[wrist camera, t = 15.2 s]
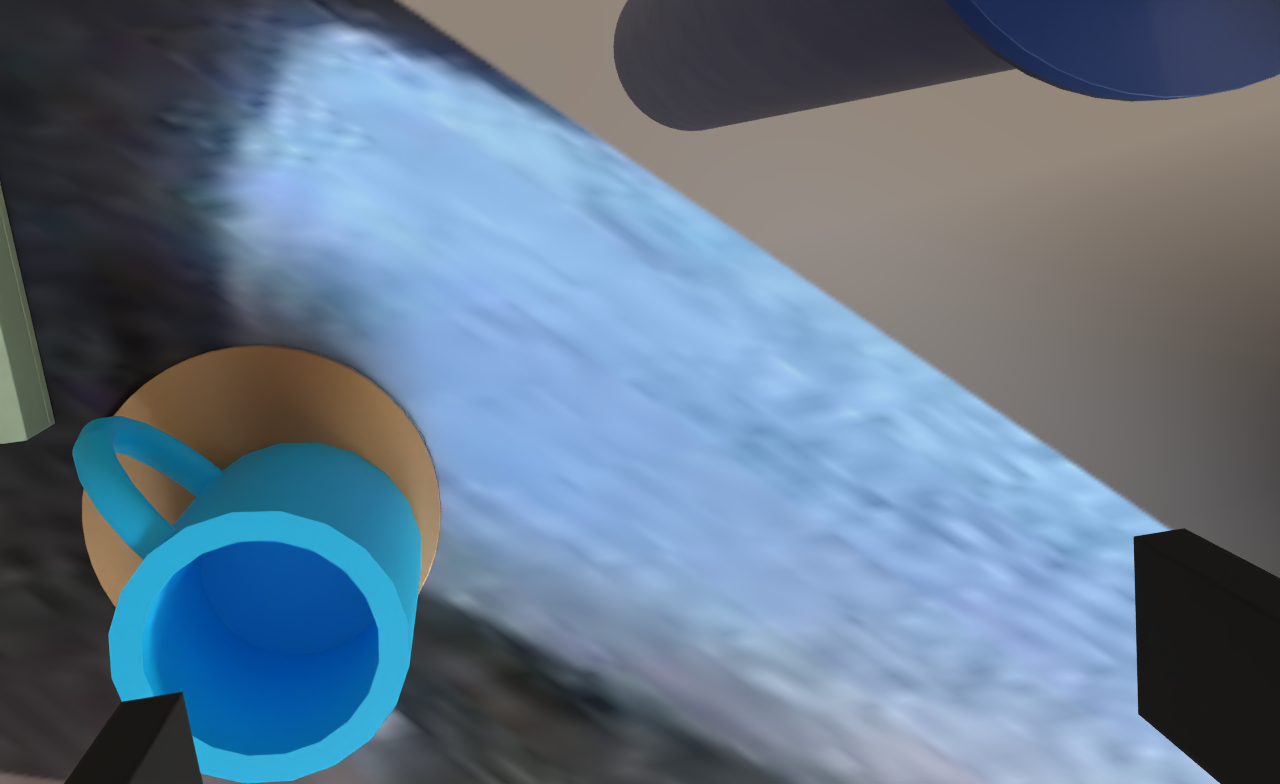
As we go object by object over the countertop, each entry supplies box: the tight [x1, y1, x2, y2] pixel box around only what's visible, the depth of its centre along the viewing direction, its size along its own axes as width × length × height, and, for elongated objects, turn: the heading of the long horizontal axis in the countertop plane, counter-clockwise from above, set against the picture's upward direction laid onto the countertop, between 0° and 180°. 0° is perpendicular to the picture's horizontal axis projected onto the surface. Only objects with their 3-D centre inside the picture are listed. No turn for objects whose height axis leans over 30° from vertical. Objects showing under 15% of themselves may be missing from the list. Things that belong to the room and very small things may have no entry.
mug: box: [73, 416, 421, 783], centre depth 35 cm, size 12×8×8 cm
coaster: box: [82, 345, 441, 607], centre depth 39 cm, size 12×12×1 cm
